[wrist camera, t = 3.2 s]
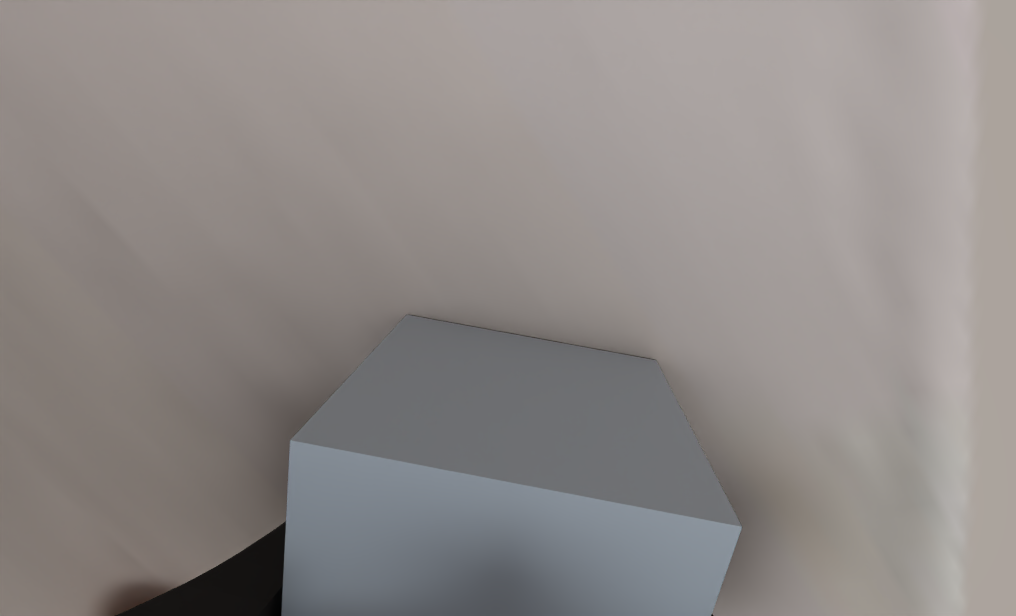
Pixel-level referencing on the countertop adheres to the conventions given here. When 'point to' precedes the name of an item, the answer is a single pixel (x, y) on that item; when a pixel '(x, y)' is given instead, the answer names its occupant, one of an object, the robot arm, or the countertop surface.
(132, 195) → the countertop surface
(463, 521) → the pale grey rectangular box
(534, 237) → the countertop surface
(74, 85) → the countertop surface
